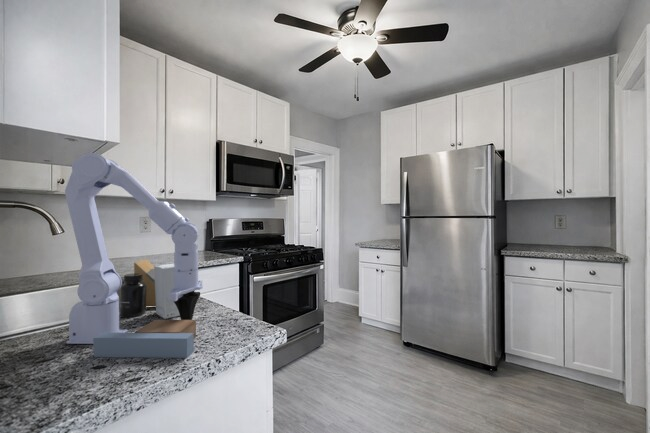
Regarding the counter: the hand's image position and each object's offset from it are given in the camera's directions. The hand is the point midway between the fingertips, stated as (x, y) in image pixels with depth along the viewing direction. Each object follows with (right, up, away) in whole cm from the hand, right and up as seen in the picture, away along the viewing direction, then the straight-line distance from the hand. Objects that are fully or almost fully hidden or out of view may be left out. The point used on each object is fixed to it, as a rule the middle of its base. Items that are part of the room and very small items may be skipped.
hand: (186, 321), depth 81 cm
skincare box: (-11, -2, +12) cm, 16 cm away
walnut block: (-1, -2, -9) cm, 9 cm away
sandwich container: (-18, -2, +24) cm, 30 cm away
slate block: (-3, -2, -15) cm, 15 cm away
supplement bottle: (-22, -2, +12) cm, 25 cm away
